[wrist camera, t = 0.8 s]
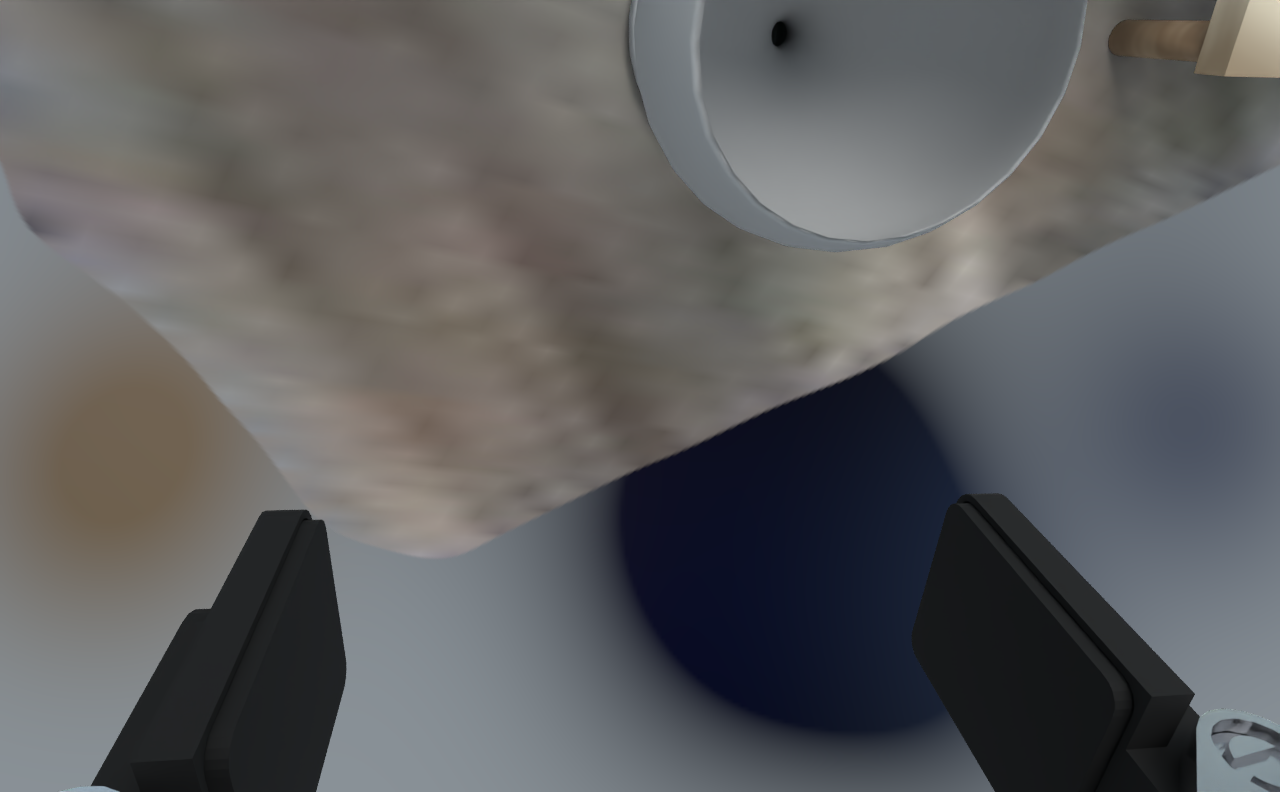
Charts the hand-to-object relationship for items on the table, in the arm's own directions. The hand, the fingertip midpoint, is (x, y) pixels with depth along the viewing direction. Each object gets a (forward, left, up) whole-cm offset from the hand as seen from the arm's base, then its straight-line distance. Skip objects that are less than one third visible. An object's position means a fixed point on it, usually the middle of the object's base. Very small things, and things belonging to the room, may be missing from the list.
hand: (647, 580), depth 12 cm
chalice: (-7, +9, -29) cm, 31 cm away
